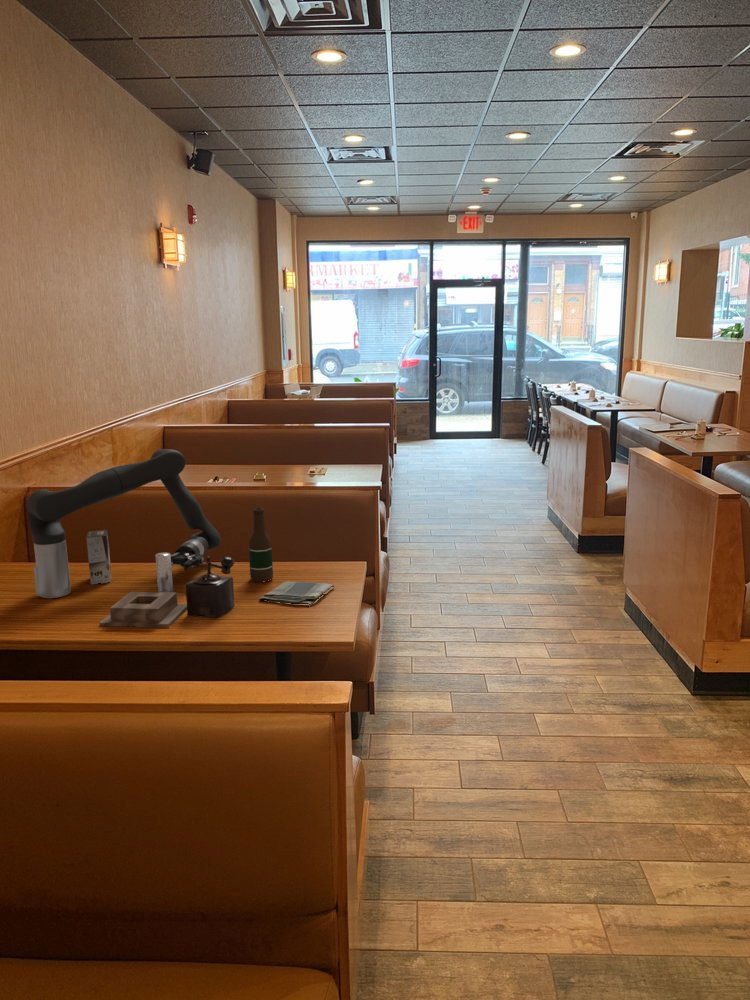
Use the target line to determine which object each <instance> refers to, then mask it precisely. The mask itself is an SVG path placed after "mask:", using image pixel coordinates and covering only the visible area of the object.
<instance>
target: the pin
mask: <svg viewBox="0 0 750 1000" xmlns="http://www.w3.org/2000/svg"><path fill="white" fill-rule="evenodd" d="M170 555H171V553H170V552H158V553H156V554H155V556H154V557H155V565H156V566H155V568H156V581H157V590H158V591H157V592H174V585H173V573H172V572H173V571H172V566H171V564H172V562H171V556H170Z"/></svg>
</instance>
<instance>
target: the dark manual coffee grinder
mask: <svg viewBox="0 0 750 1000" xmlns="http://www.w3.org/2000/svg"><path fill="white" fill-rule="evenodd" d="M205 559H206V561H205V564H206V568H207V570H206V571H207V573H204V574H202V575H200V576H197V577H195V578H193V579H192V580H191V581H188V582H187V583H185V596H186V597H185V598H186V604H187V610H186V611H187V615H186V616H192V617H198V618H199V617H200V618H220V617H223V616H224V615H226V614H227V613H229V612H230V611H231V610H232V609H234V608H235V593H234V589H235V588H234V577H232V576H224V575H229V574H231V573H232V570H231V568H232V567H233V566H234V565H235V560H234V558H232V557H231V556H224V557H223V558H221V559H220V564H218V563H217V564H216V563H214V562H212V561H211V559H212V558H211V557H210V556H209V555H208V556H206V557H205ZM211 566H212V567H213V568H217V569H221V571H220V572H221V573H222V574H224V575H223V576H222V575H219V574H216V573H213V572H212V571H211ZM233 607H234V608H233ZM228 611H229V612H228Z"/></svg>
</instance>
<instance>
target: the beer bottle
mask: <svg viewBox="0 0 750 1000" xmlns="http://www.w3.org/2000/svg"><path fill="white" fill-rule="evenodd" d="M252 513H253V531H252V533H251V535H250V537H249V540H248V556H249V557H248V558H249V561H248V562H249V576H250V581H251V582H252V581H256V582H263V581H268V580H270V579H272V578H273V579H274V569H273V565H274V564H273V548H272V542H271V539H270V536H269V534H267V530H266V527H265V526H266V525H265V517H264V513H265V510H264V508H262V507H255V508H253V509H252ZM256 582H255V583H256Z"/></svg>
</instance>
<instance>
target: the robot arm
mask: <svg viewBox="0 0 750 1000" xmlns="http://www.w3.org/2000/svg"><path fill="white" fill-rule="evenodd" d="M186 462H187V461H186V458H185V456H184V455H183V454H182V453H181V452H180V451H178V450H176V449H170V448H169V449H168V448H161V449H158V450H156V451H153V454H151V457H150V458H149V459H147V460H144V461H141V462H140V461H139V462H135V463H127V464H122V465H118V466H114V467H111V468H107V469H105V470H101V471H99V472H96V473H94V474H92V475H91V476H89V477H87V478H86V479H85V480H83V481H82V482H80V483H78V484H77V485H74V486H71V487H69V488H64V489H61V490H57V491H51V490H49V489H44V488H41V489H37V490H35V491H33V492H32V493H31V494H30V495H29V497H28V498H27V502H26V510H27V511H26V512H27V517H28V518H27V519H28V524H29V525H28V526H29V532H30V533H31V534H30V535H31V536H32V540H33V548H34V549H33V550H34V556H35V557H34V559H35V566H33V575H34V584H35V593H36V597H40V598H43V599H57V598H61V597H65V596H68V595H69V594H71V592H72V589H71V587H72V585H71V578H70V567H69V560H68V559H69V558H68V551H67V549H68V548H67V541H66V539H67V538H66V532H65V530H64V528H63V527H62V523H61V520H60V519H62V518H64V517H66V516H69V515H71V514H72V513H74V512H76V511H78V510H81V509H83V508H85V507H89V506H92V505H95V504H99V503H101V502H104V501H107V500H110V499H114V498H116V497H119V496H121V495H123V494H126V493H129V492H132V491H134V490H136V489H138V488H140V487H143V486H145V485H147V484H150V483H152V482H156V481H159V480H160V481H161V483H162V484H163V486H164V487H165V488H166V490H167V491H168V493H169V495H170V496H171V498H172V500H173V501H174V503H175V506H177V508H178V511H179V513H180V515H181V517H182V520H183V521H184V523H185V525H186V527H187V528H188V529H189V530H200V531H199V532H196V533H194V534H191V536H190V537H189V540H187V541H185V542H184V543H183V544H181V545H180V546H178V547H177V548H176V549H175V551H174V553H173V554H170V556H171V567H175V566H180V567H183V568H184V570H185V571H188V570H189V569H191V568H194V567H197V568H199V567H201V565H203V563H204V562H205V560H204V555H205V554H206V553H207V551H209V550H212V549H215V548H218V547H219V546H220V544H221V541H222V538H221V534H220V532H219V531H218V530H217V529H216V528H215V527H214V526H213V525H212V523H211V522H210V521H209V520H208V518H207V517H206V515H205V514H204V512H203V510H202V507H201V506H200V504H199V502H198V500H197V498H196V497H195V496H194V495H193V493H192V492H190V490H189V489H188V488H187V486H186V485H185V483H184V482H183V480H182V478H181V477H180V474H181V473H182V472H183V470H184V469H185V468H186V464H187V463H186Z"/></svg>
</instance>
